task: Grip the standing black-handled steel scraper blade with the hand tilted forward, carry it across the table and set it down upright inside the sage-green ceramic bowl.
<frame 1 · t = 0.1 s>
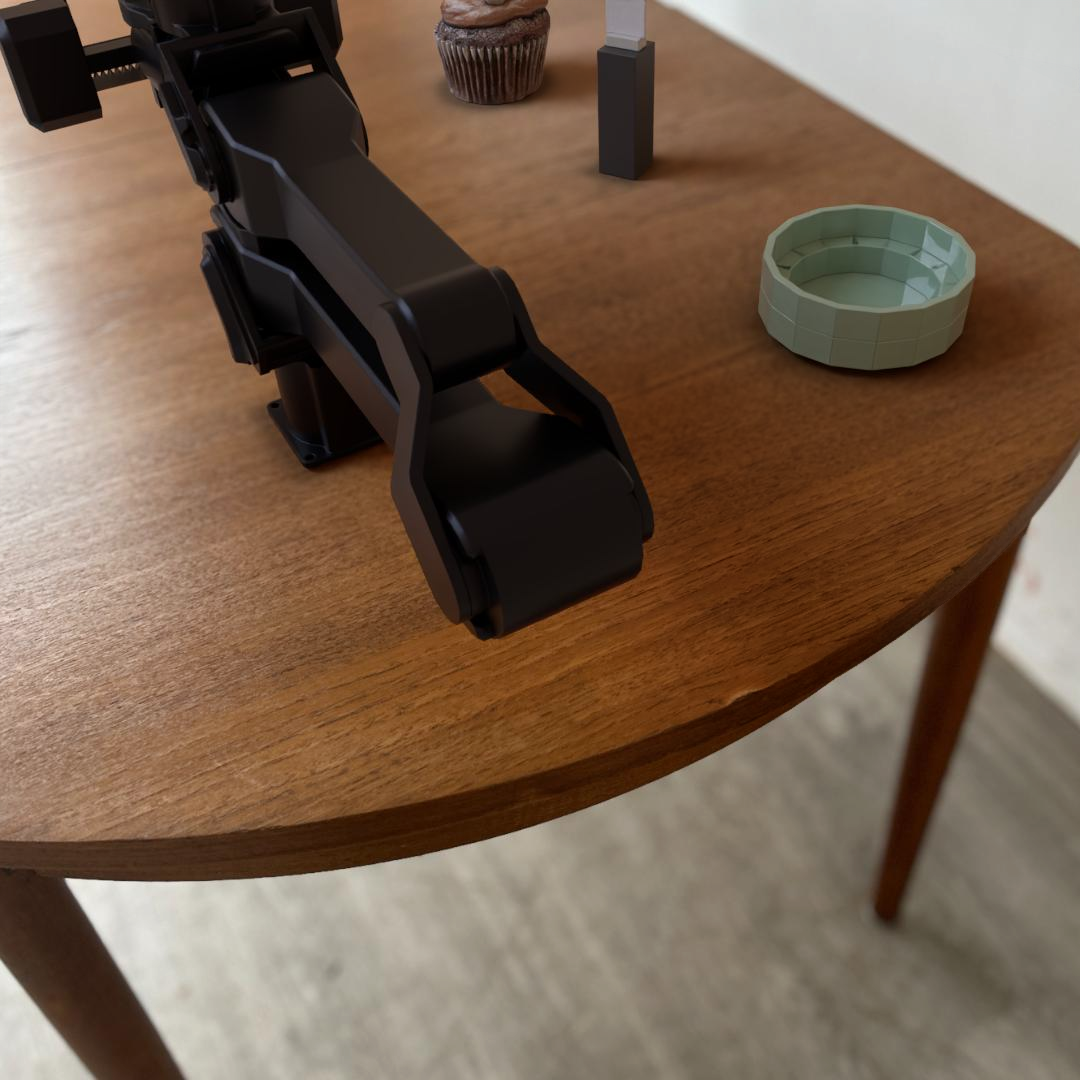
scraper: (626, 167, 89), on the table
cupcake: (496, 86, 101), on the table
bowl: (858, 320, 73), on the table
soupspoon: (332, 196, 88), on the table
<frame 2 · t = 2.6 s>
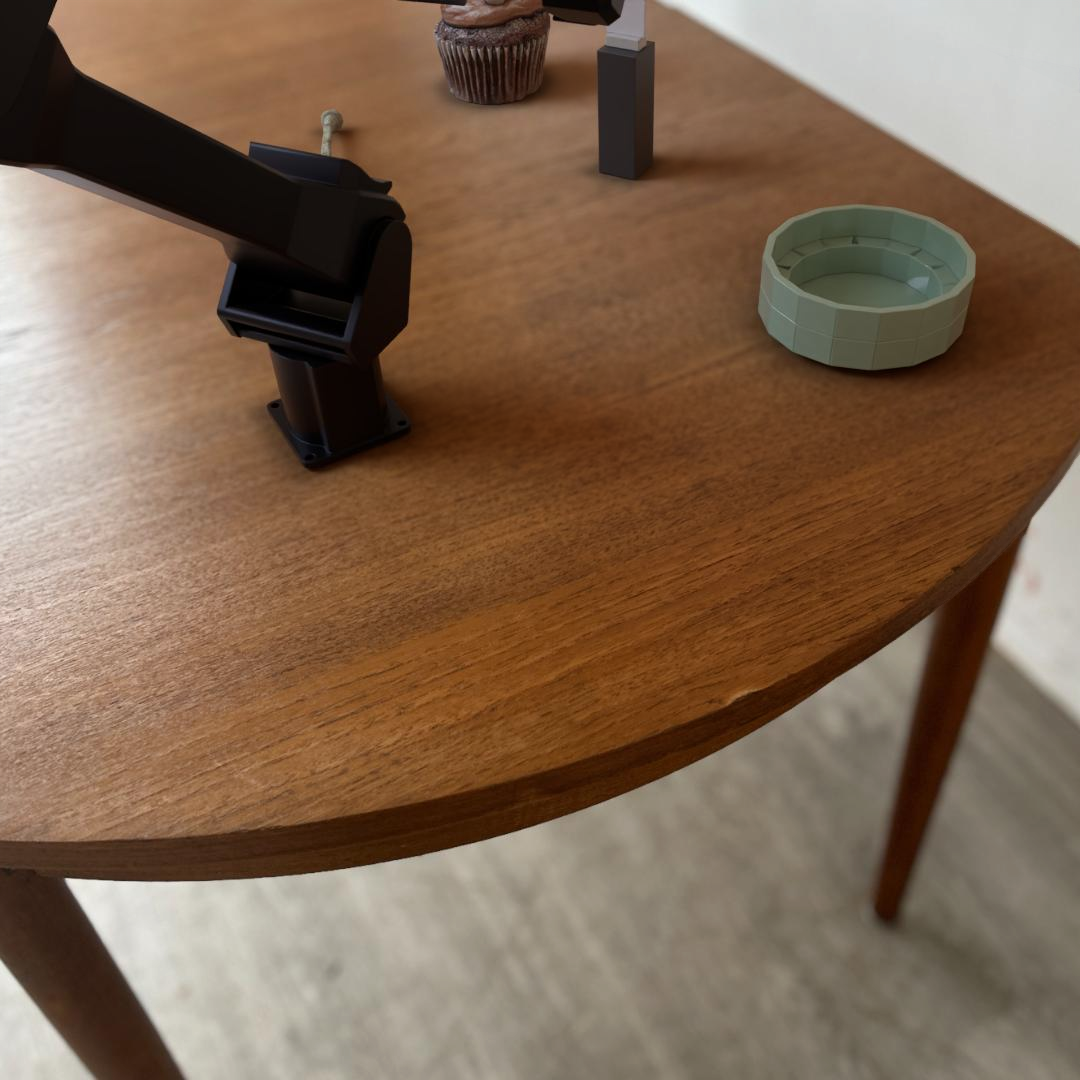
hand: (529, 5, 75), 14 cm above the table, tool tilted 50°, fingers open, 9 cm apart
nothing on the table moved.
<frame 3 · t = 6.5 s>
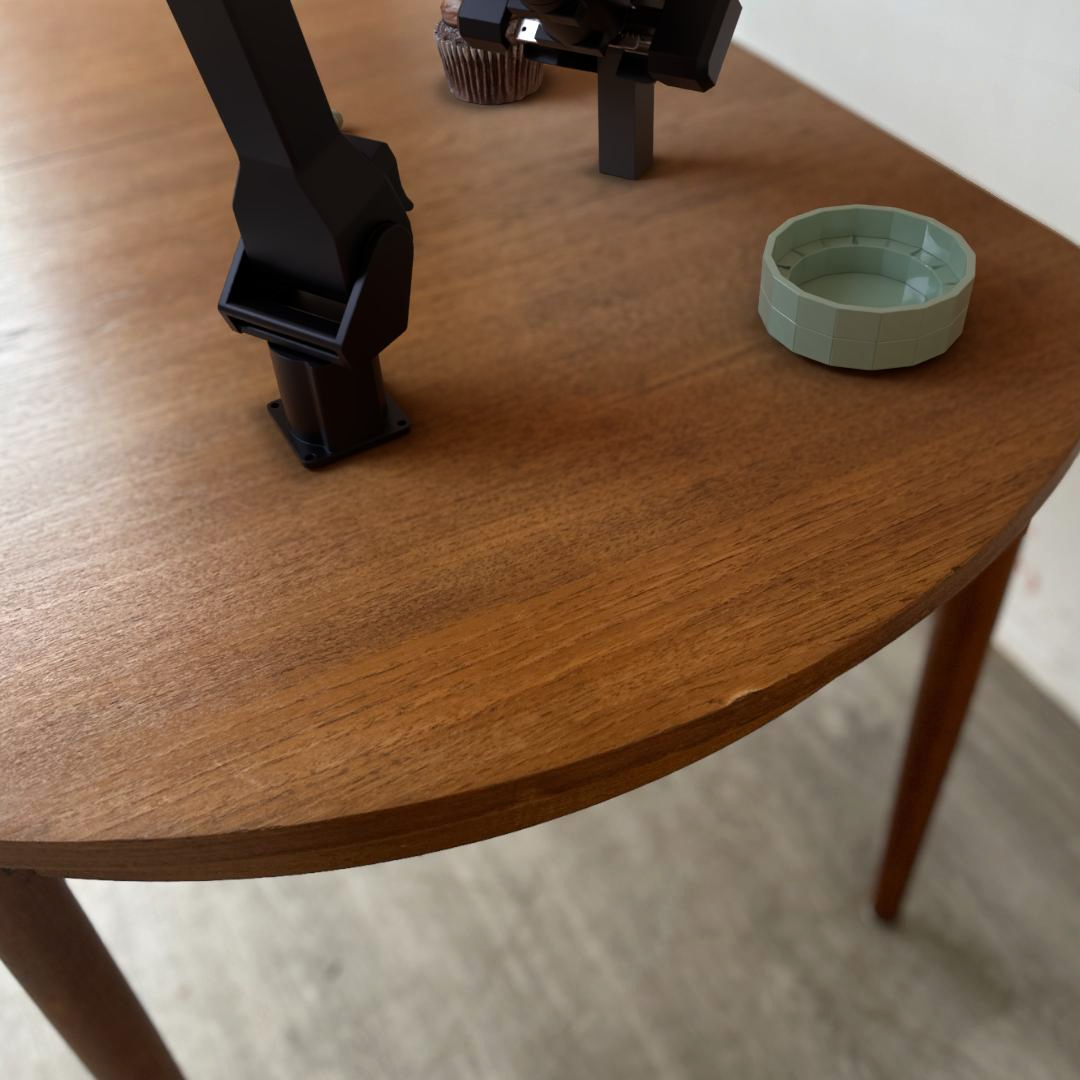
hand: (635, 73, 85), 7 cm above the table, tool tilted 45°, fingers closed on scraper, 3 cm apart
scraper: (626, 167, 89), on the table, touching gripper
everything else where it was.
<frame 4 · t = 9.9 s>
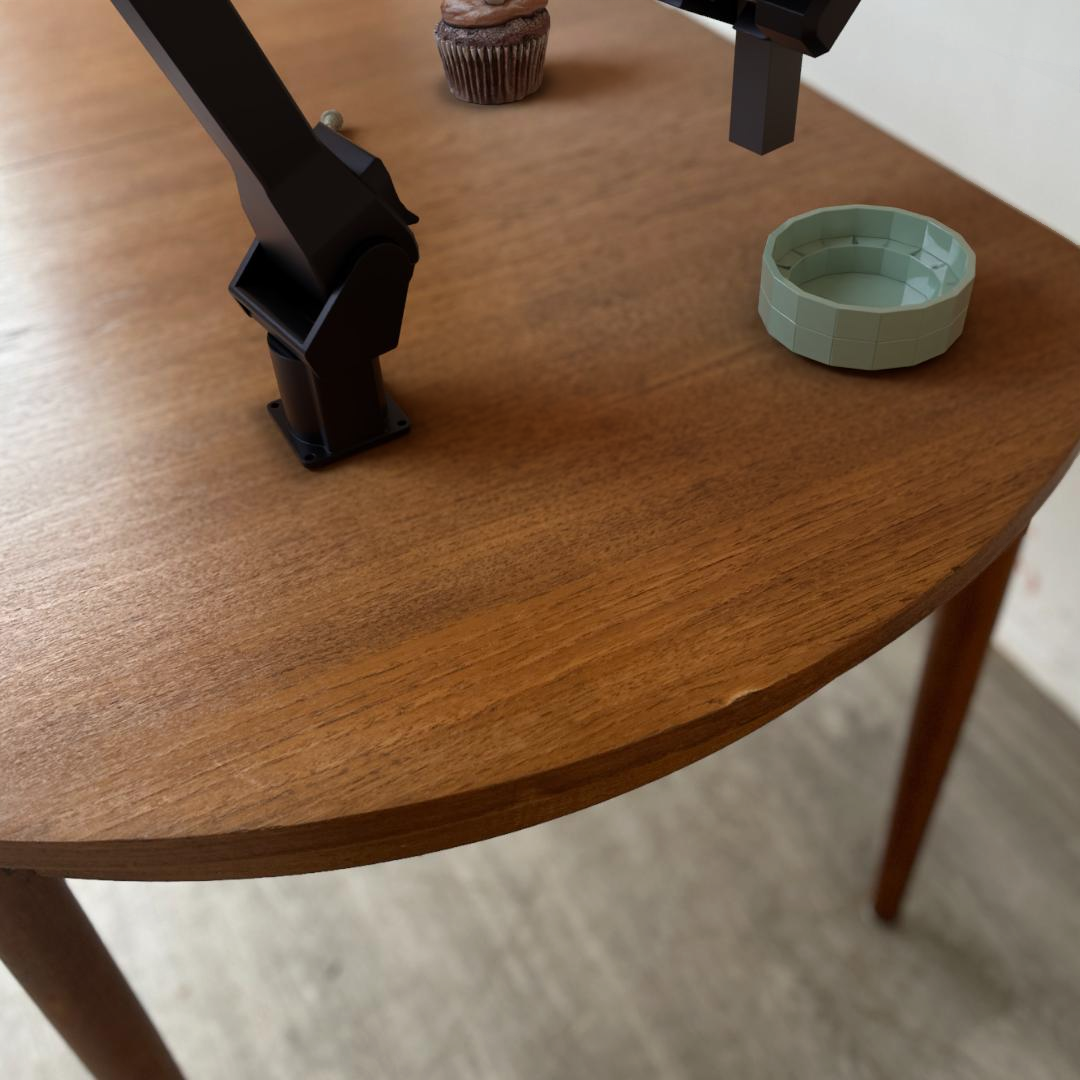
hand: (785, 33, 74), 12 cm above the table, tool tilted 45°, fingers closed on scraper, 3 cm apart
scraper: (761, 141, 78), point 6 cm above the table, touching gripper
everything else where it was.
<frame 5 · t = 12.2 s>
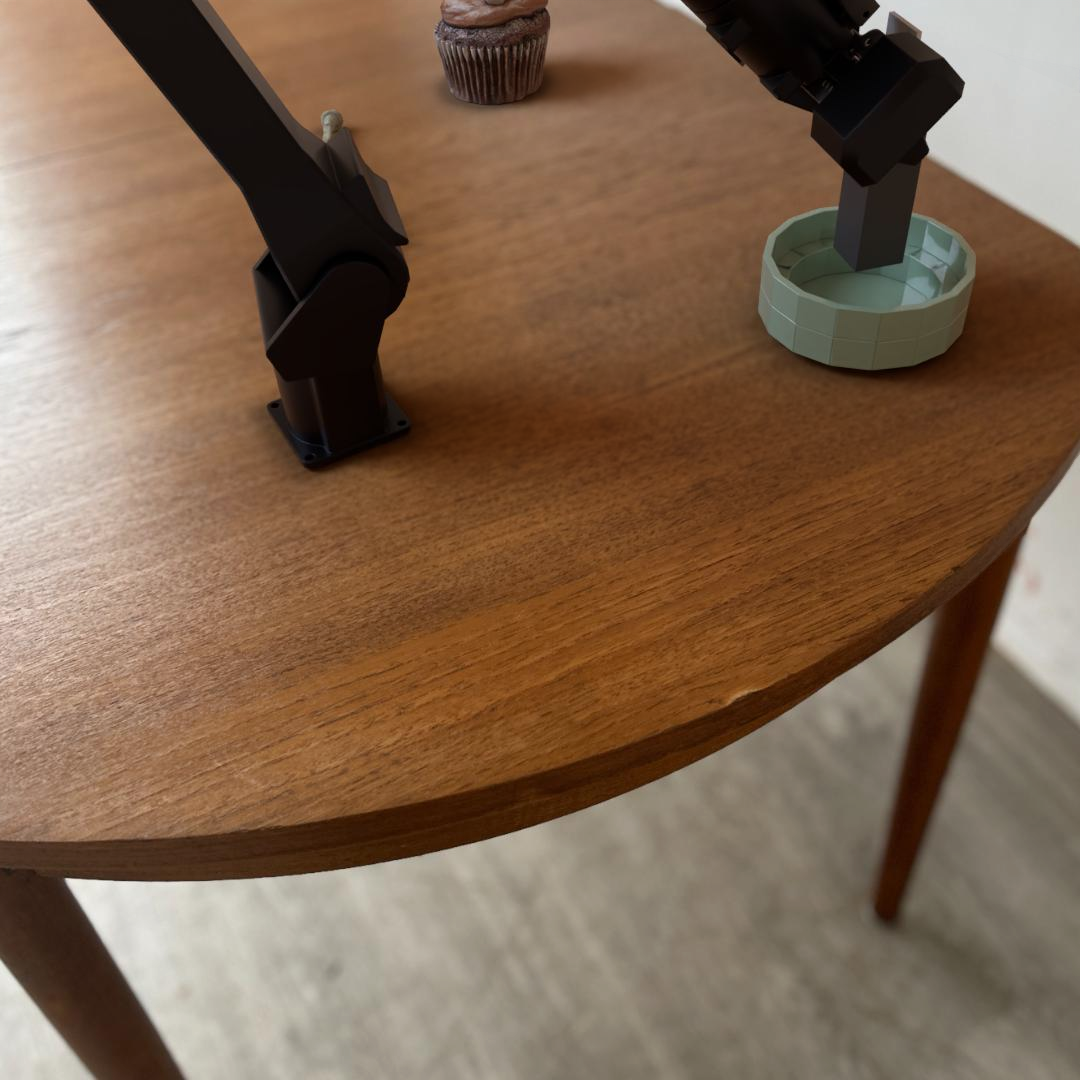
hand: (907, 145, 65), 11 cm above the table, tool tilted 45°, fingers closed on scraper, 3 cm apart
scraper: (867, 255, 70), point 4 cm above the table, touching gripper
everything else where it was.
when the fingers open (7 cm above the table, at t = 13.6 s): scraper stays where it is, resting on bowl.
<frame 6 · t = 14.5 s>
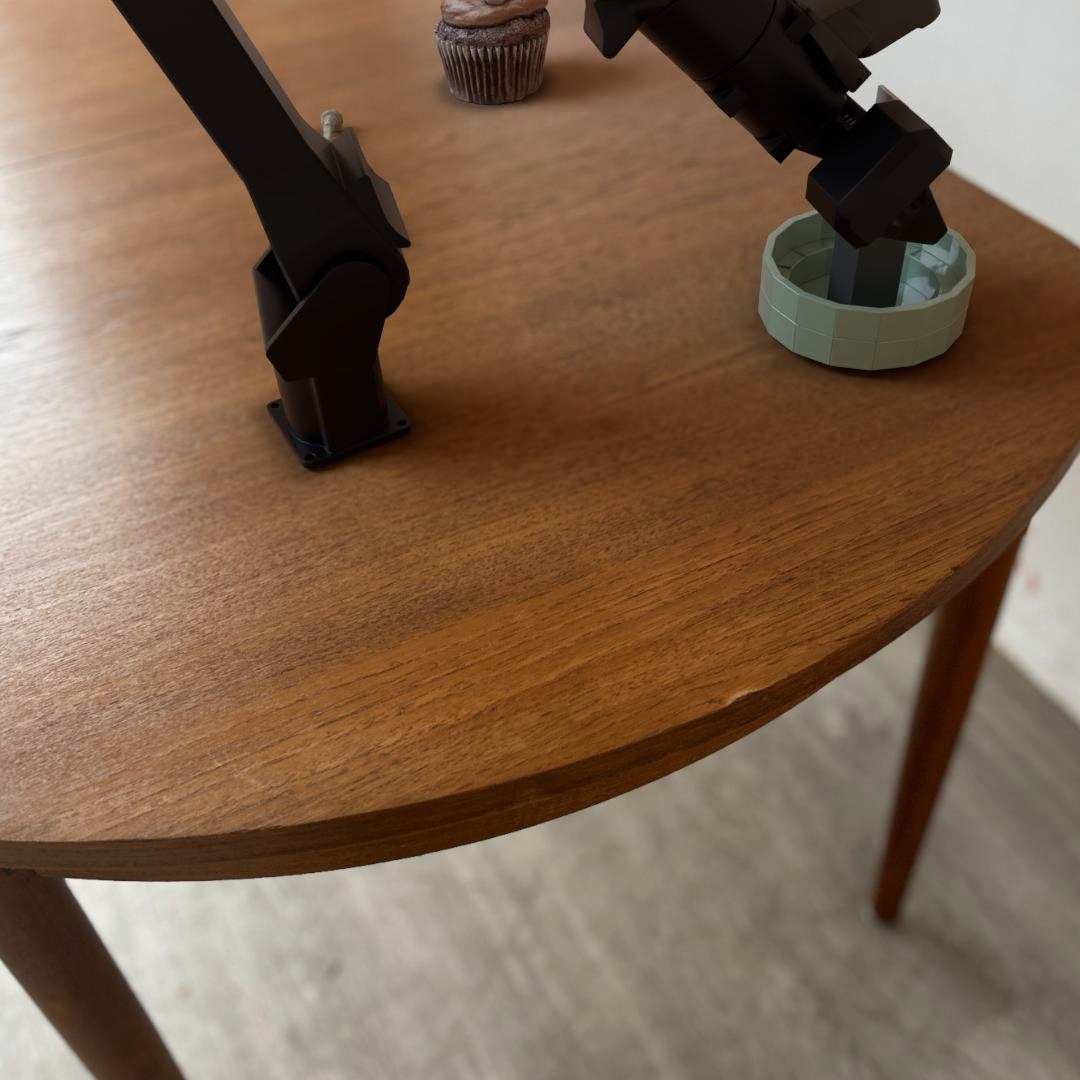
hand: (900, 198, 68), 8 cm above the table, tool tilted 45°, fingers open, 9 cm apart
scraper: (859, 311, 72), point 1 cm above the table, touching bowl
everything else where it was.
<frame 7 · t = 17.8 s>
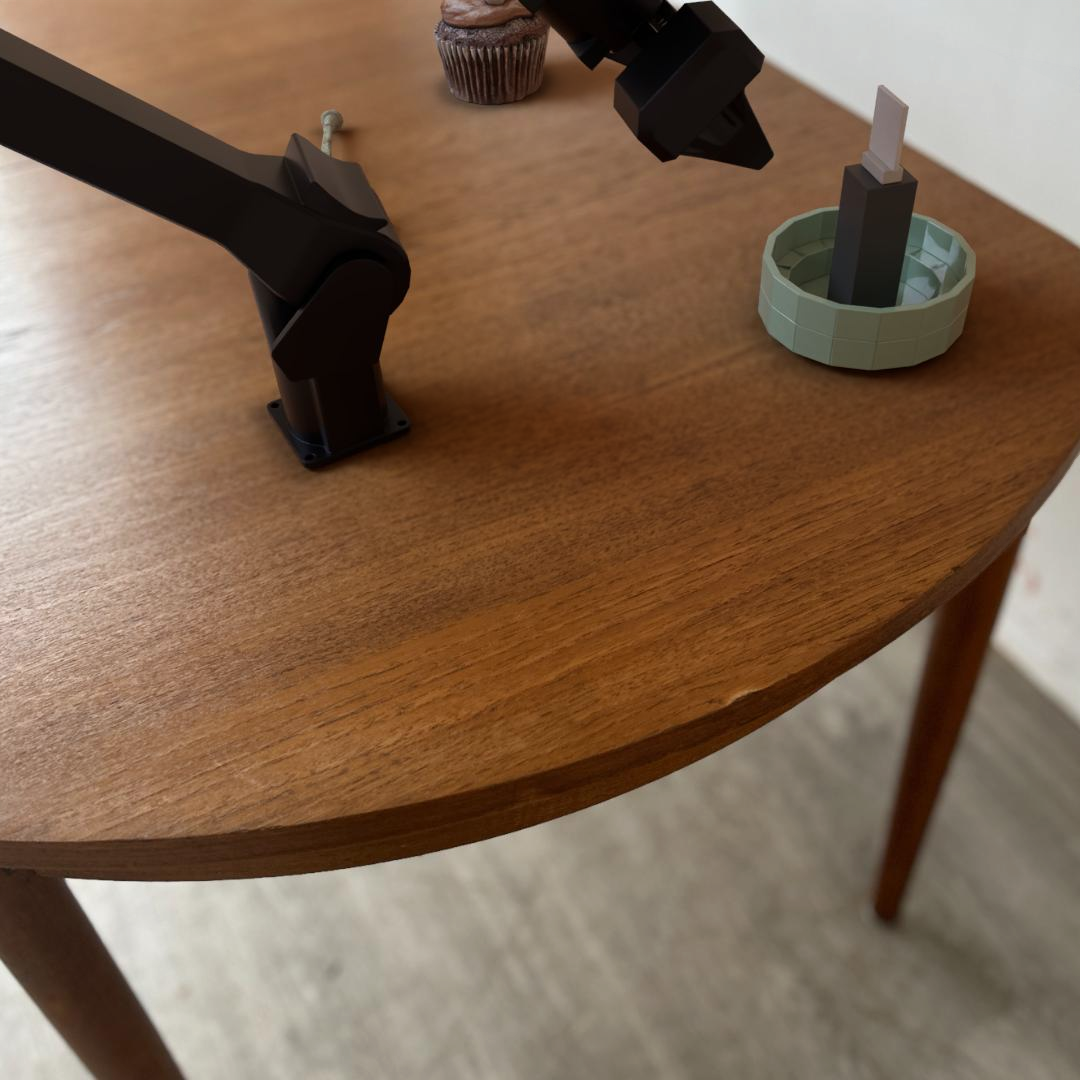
hand: (731, 121, 63), 13 cm above the table, tool tilted 40°, fingers open, 9 cm apart
nothing on the table moved.
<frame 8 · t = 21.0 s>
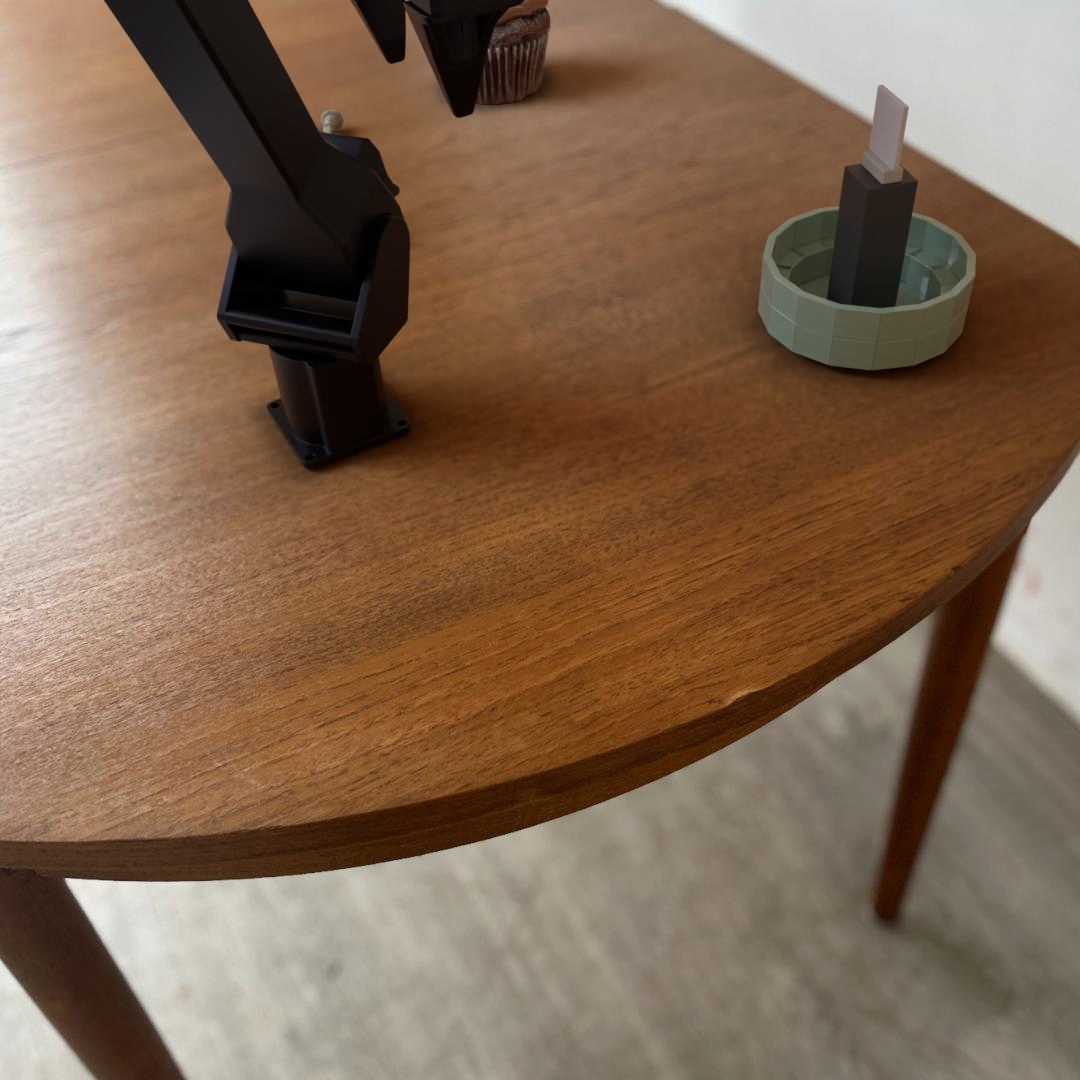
hand: (428, 87, 69), 13 cm above the table, tool pointing down, fingers open, 9 cm apart
nothing on the table moved.
at the end: scraper inside the target area in the bowl (0.0 cm from its centre), point 0.6 cm above the bowl's base; the gripper is holding nothing; cupcake moved 0.2 cm from its start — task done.
